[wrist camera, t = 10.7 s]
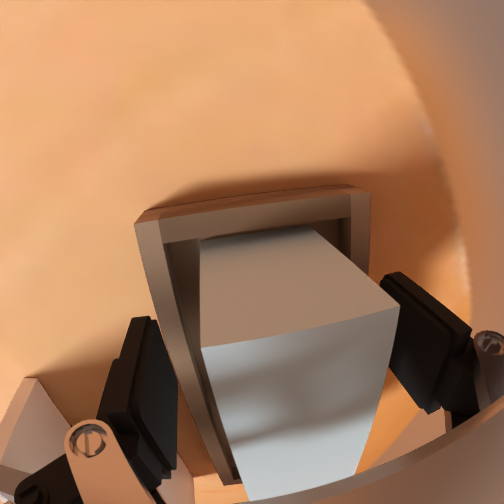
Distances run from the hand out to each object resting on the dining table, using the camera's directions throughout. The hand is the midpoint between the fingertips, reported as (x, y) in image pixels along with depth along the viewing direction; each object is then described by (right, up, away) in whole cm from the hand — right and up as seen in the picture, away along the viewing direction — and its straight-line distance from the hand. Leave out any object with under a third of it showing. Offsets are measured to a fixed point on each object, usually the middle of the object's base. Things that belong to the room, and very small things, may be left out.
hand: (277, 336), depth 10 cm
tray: (0, -3, +5) cm, 6 cm away
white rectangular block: (0, -3, +4) cm, 5 cm away
